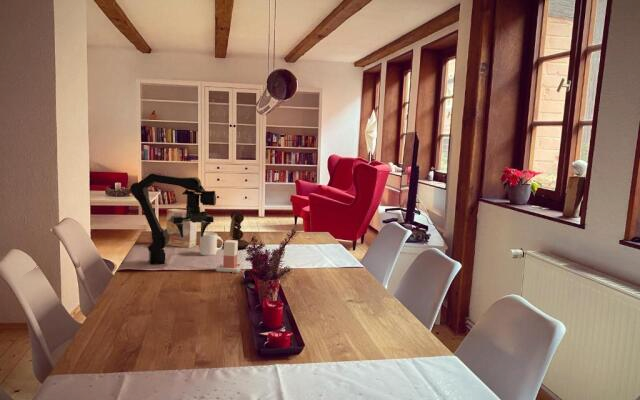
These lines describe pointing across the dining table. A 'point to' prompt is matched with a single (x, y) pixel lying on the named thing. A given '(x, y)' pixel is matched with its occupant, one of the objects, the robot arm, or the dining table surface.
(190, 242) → the coffeecake box
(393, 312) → the dining table surface
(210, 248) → the mug
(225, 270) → the white tray
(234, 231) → the dark lumpy post
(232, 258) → the two tone block
